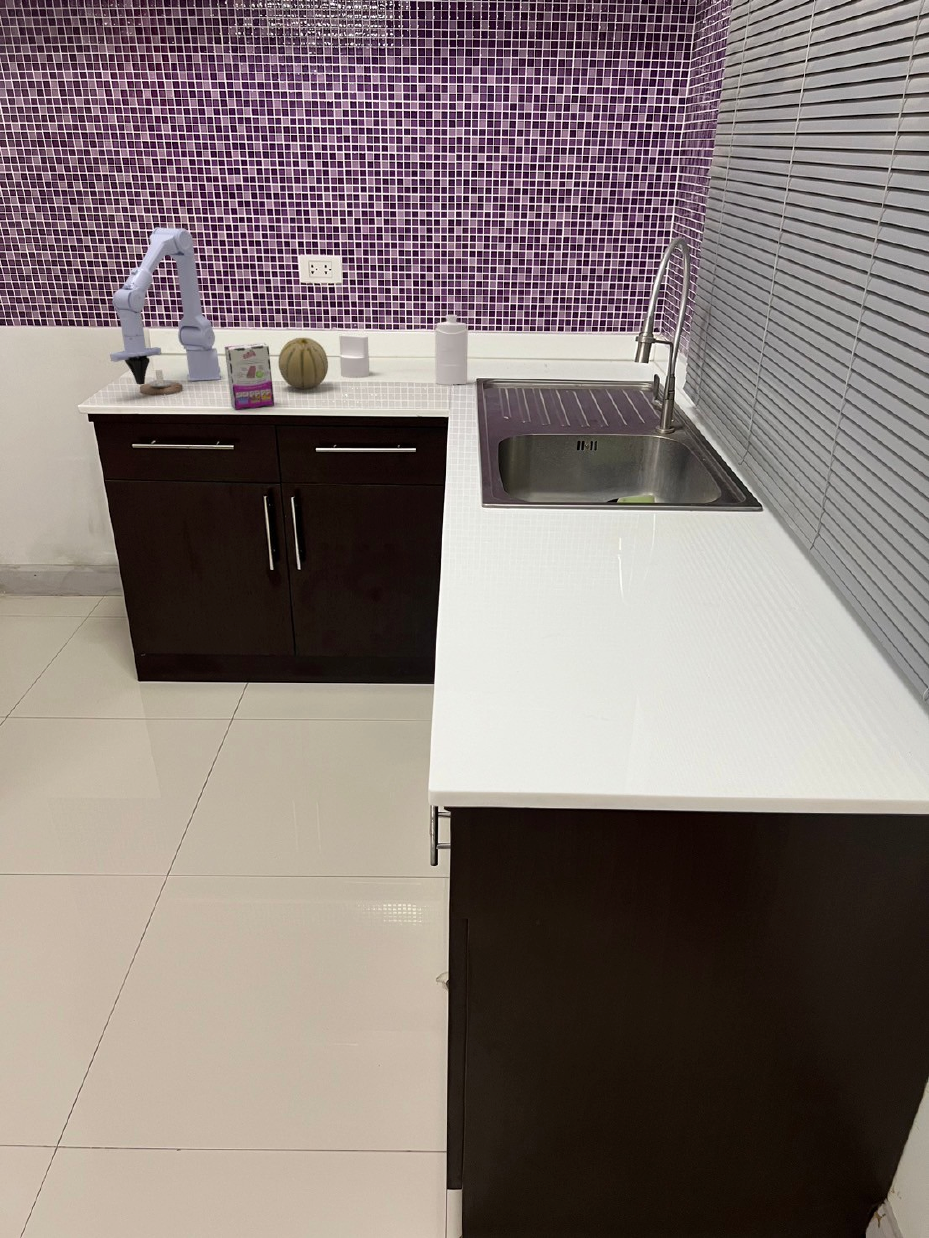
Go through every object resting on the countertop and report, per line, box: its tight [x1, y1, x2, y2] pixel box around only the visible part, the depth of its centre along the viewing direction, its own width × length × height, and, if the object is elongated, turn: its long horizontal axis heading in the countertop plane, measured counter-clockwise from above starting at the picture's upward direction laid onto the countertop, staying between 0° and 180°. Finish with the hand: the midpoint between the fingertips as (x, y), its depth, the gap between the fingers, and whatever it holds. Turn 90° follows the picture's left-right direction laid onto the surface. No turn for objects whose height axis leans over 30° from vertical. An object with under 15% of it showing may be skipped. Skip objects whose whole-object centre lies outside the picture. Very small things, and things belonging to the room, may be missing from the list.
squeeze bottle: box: [434, 314, 469, 386], centre depth 280 cm, size 10×20×5 cm
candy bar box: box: [224, 342, 275, 411], centre depth 254 cm, size 11×5×16 cm, turn 117°
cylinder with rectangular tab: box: [339, 333, 371, 379], centre depth 292 cm, size 9×9×12 cm
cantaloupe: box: [278, 337, 329, 390], centre depth 274 cm, size 15×15×15 cm
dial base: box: [139, 381, 184, 396], centre depth 273 cm, size 12×12×1 cm
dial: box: [149, 369, 172, 388], centre depth 271 cm, size 8×6×4 cm
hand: (140, 384), depth 265 cm, fingers closed
